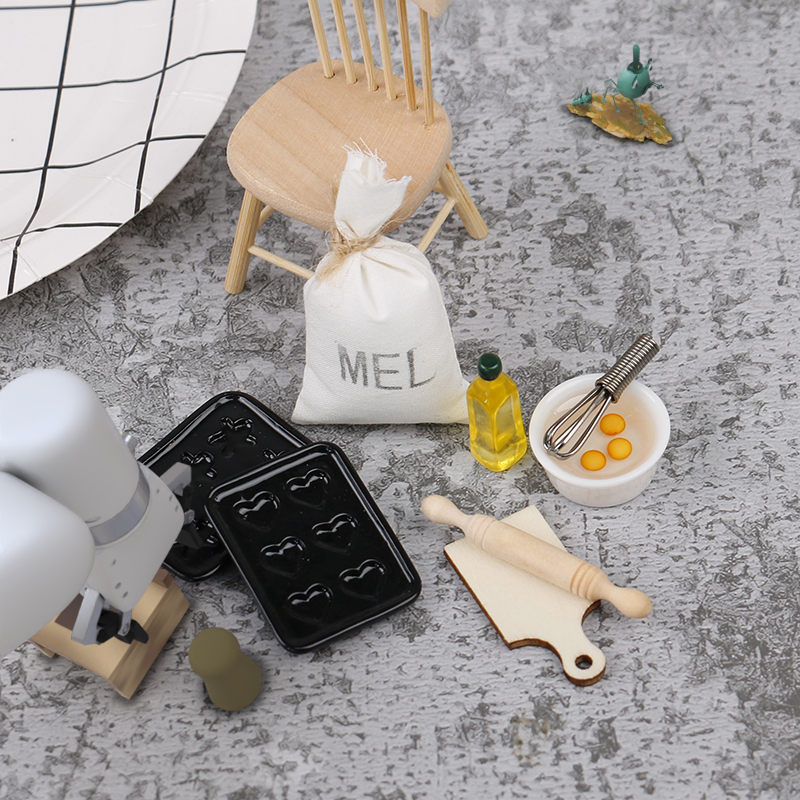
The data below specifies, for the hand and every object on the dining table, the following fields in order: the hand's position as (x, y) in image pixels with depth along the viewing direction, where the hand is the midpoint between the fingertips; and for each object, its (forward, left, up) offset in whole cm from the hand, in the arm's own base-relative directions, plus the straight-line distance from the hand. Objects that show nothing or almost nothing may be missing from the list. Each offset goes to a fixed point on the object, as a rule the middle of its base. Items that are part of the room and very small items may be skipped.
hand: (161, 587), depth 85 cm
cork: (-1, -3, -22) cm, 22 cm away
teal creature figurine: (+102, -11, -22) cm, 105 cm away
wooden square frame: (-1, +13, -22) cm, 25 cm away
